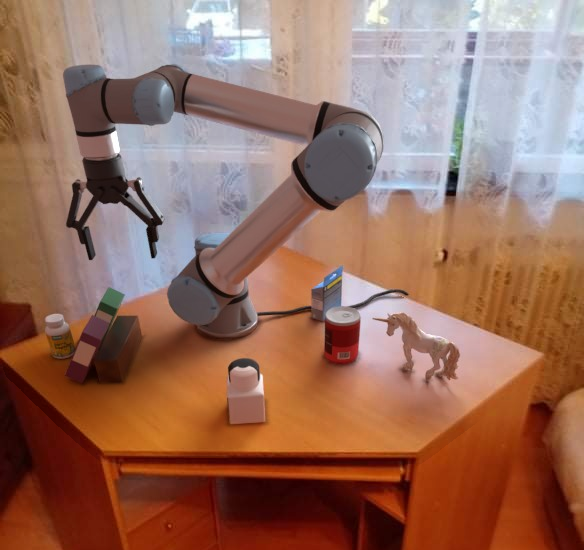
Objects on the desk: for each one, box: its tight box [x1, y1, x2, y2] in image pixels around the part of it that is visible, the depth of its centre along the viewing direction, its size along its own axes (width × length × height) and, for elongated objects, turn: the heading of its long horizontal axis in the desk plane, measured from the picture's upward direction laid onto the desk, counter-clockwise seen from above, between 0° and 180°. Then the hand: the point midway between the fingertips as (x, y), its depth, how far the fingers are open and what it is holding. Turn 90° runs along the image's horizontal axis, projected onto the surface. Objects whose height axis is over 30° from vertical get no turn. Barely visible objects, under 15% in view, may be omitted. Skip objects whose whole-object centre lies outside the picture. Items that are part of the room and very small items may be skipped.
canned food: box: [323, 305, 362, 366], centre depth 134 cm, size 8×8×11 cm
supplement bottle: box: [44, 313, 76, 360], centre depth 136 cm, size 5×5×10 cm
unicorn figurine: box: [371, 311, 461, 381], centre depth 128 cm, size 7×20×13 cm, turn 68°
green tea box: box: [94, 286, 126, 351], centre depth 138 cm, size 4×7×13 cm, turn 1°
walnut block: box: [93, 315, 143, 384], centre depth 135 cm, size 5×19×6 cm, turn 178°
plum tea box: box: [64, 314, 110, 384], centre depth 128 cm, size 4×7×13 cm, turn 1°
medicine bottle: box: [226, 357, 266, 425], centre depth 117 cm, size 7×7×12 cm
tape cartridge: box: [310, 264, 344, 322], centre depth 149 cm, size 9×4×12 cm, turn 144°
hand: (123, 256), depth 128 cm, fingers open, 13 cm apart
